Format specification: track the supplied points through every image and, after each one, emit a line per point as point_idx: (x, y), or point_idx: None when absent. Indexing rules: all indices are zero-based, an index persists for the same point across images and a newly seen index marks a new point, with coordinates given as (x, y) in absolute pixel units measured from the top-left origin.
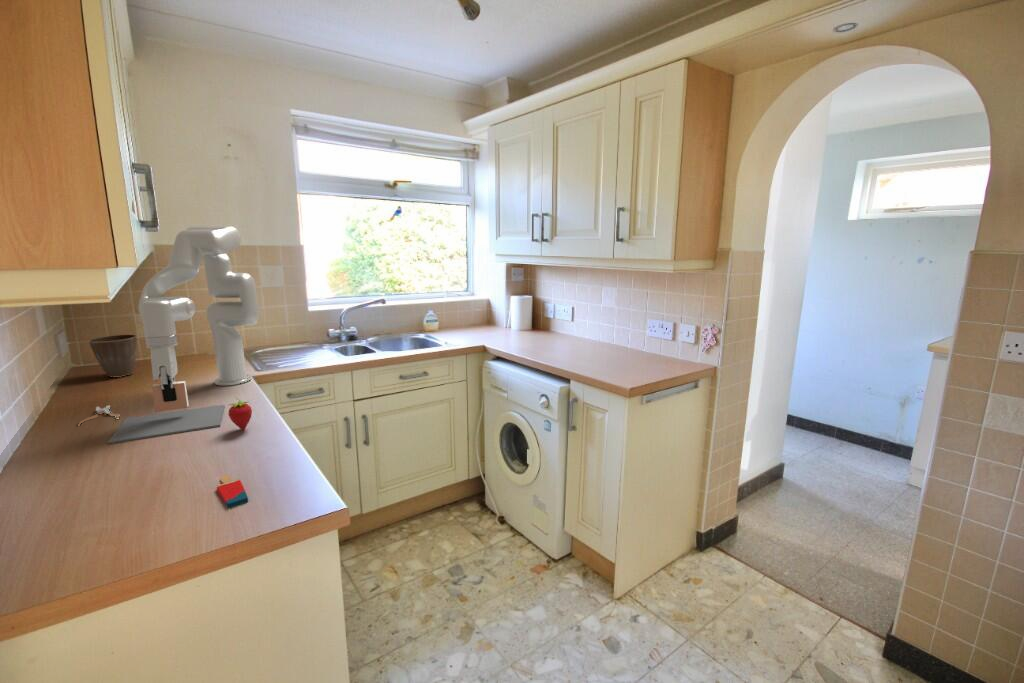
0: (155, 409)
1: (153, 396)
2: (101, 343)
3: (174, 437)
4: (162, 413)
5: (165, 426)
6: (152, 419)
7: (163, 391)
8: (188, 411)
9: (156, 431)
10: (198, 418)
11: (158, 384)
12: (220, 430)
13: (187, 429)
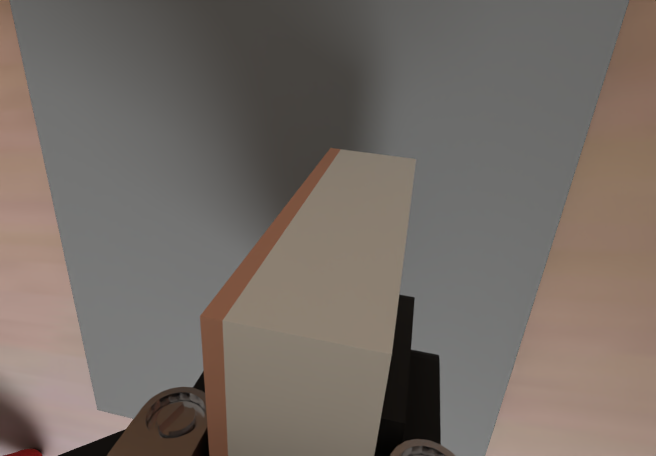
0: (326, 155)
1: (279, 217)
2: None
3: (12, 219)
4: (568, 158)
5: (176, 183)
6: (417, 85)
7: None
8: (463, 328)
9: (95, 133)
10: None
11: (312, 420)
12: (52, 391)
13: (73, 287)
